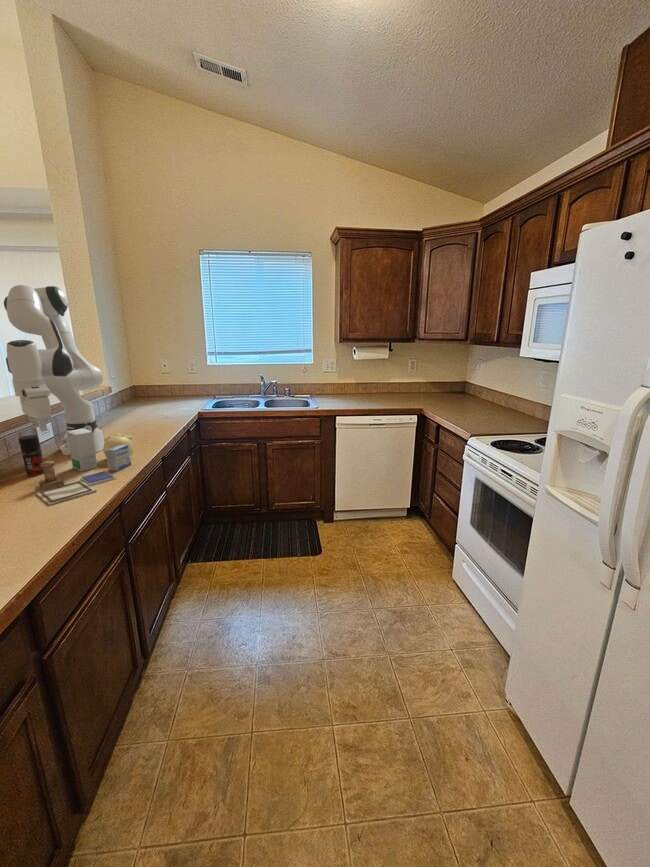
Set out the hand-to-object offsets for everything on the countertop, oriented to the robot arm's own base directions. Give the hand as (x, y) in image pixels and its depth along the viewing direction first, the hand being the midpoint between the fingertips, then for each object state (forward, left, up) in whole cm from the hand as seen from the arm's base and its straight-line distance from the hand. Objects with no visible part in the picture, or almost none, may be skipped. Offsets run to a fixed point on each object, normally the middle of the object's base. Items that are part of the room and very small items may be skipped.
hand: (39, 428), depth 133 cm
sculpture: (-12, +29, -22) cm, 38 cm away
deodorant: (-19, 0, -22) cm, 29 cm away
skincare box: (-11, +15, -22) cm, 29 cm away
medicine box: (0, +24, -22) cm, 32 cm away
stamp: (0, 0, -21) cm, 21 cm away
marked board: (+12, +1, -21) cm, 25 cm away
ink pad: (+7, +13, -21) cm, 26 cm away
